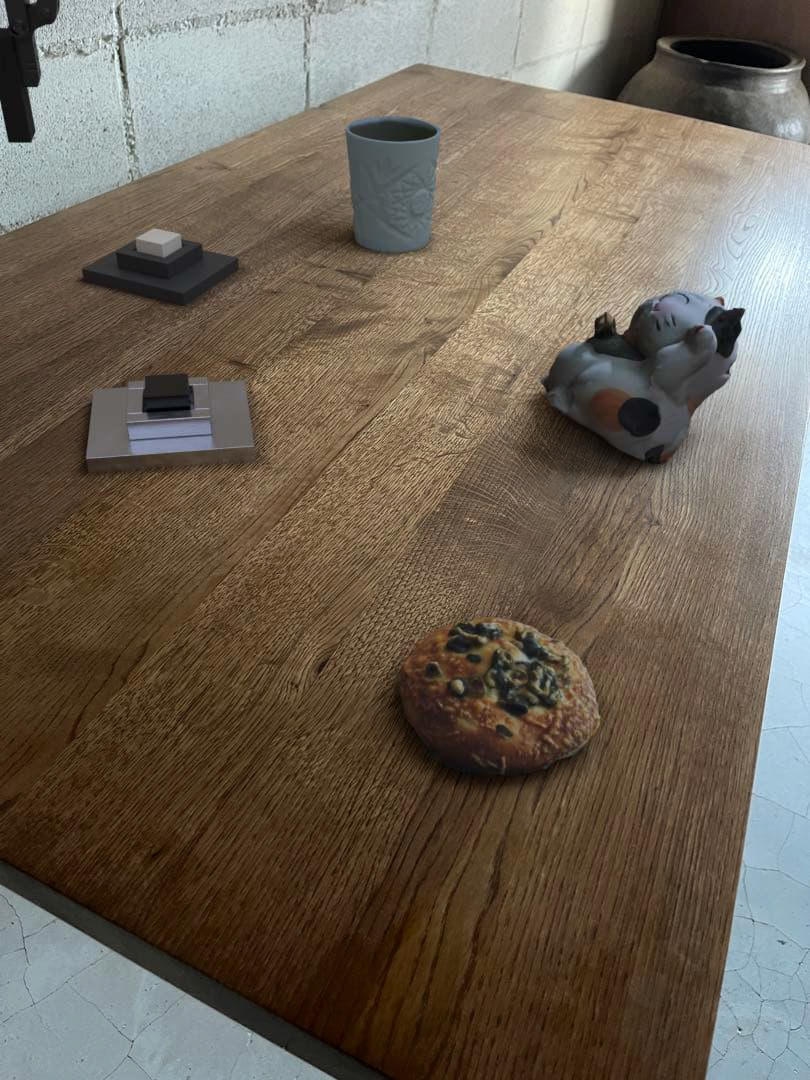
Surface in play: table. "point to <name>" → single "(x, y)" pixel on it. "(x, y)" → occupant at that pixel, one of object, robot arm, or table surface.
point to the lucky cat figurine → (647, 372)
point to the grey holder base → (169, 428)
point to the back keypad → (162, 272)
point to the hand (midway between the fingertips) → (22, 136)
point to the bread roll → (497, 698)
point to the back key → (158, 242)
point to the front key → (167, 393)
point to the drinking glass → (392, 181)
